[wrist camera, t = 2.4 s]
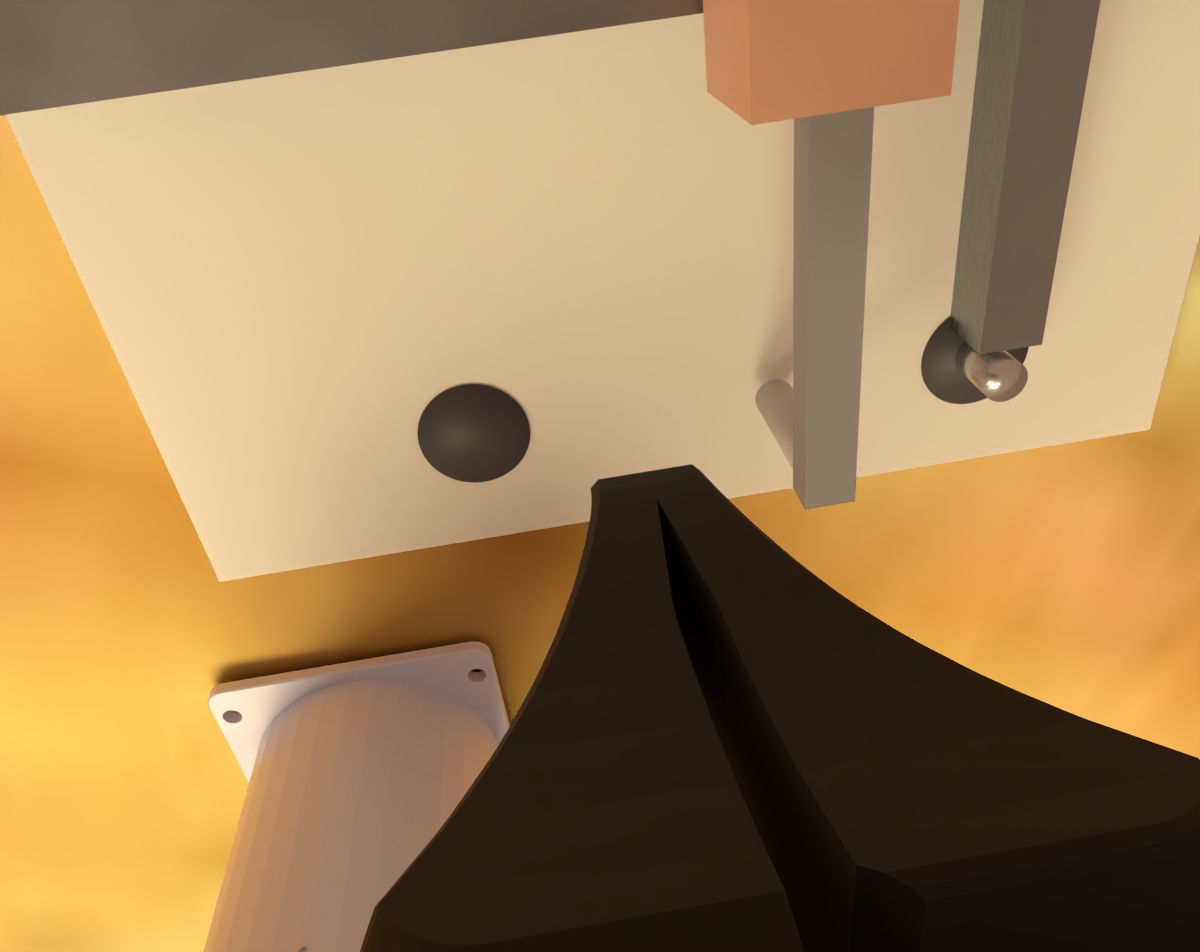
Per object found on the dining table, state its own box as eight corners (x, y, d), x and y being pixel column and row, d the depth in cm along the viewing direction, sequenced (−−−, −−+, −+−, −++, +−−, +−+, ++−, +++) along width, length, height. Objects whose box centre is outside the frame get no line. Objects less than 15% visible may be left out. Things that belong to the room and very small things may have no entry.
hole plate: (1125, 411, 24) (1151, 430, 23) (228, 557, 23) (219, 583, 22) (1321, -415, 15) (1375, -436, 14) (-117, -224, 14) (-157, -234, 13)
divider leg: (836, 403, 21) (912, 506, 17) (711, 424, 20) (760, 531, 17) (857, -209, 14) (982, -254, 11) (677, -184, 14) (743, -220, 11)
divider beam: (1127, 328, 22) (1194, 370, 20) (213, 473, 21) (185, 534, 19) (1241, -177, 17) (1351, -191, 14) (11, -4, 16) (-61, 8, 14)
